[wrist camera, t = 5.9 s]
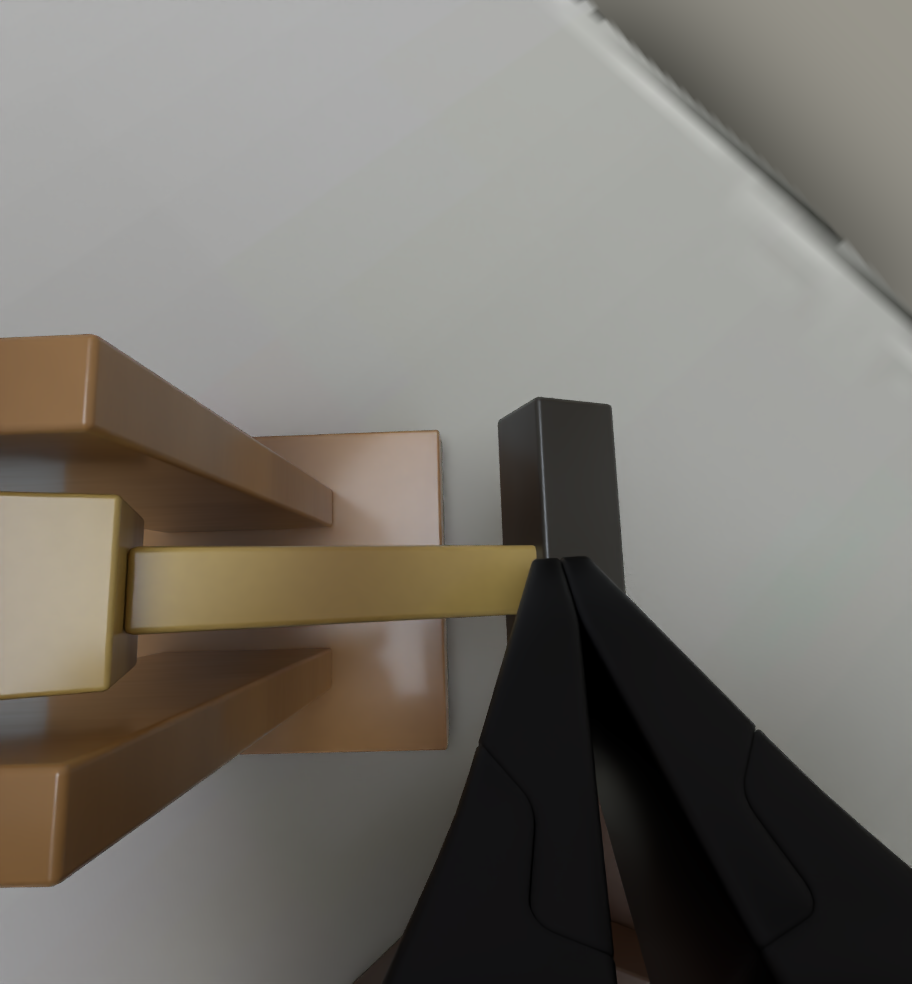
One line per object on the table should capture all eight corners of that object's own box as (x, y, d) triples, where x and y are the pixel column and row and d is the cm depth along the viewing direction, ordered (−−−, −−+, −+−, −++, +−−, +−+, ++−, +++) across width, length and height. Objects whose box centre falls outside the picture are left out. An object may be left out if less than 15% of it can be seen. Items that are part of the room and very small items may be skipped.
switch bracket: (441, 440, 16) (380, 176, 6) (449, 738, 15) (389, 1094, 5) (94, 453, 17) (-568, 224, 6) (74, 746, 16) (-808, 1104, 5)
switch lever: (553, 431, 12) (629, 395, 10) (571, 738, 11) (659, 775, 9) (-73, 379, 8) (-179, 301, 6) (-128, 843, 7) (-277, 952, 5)
